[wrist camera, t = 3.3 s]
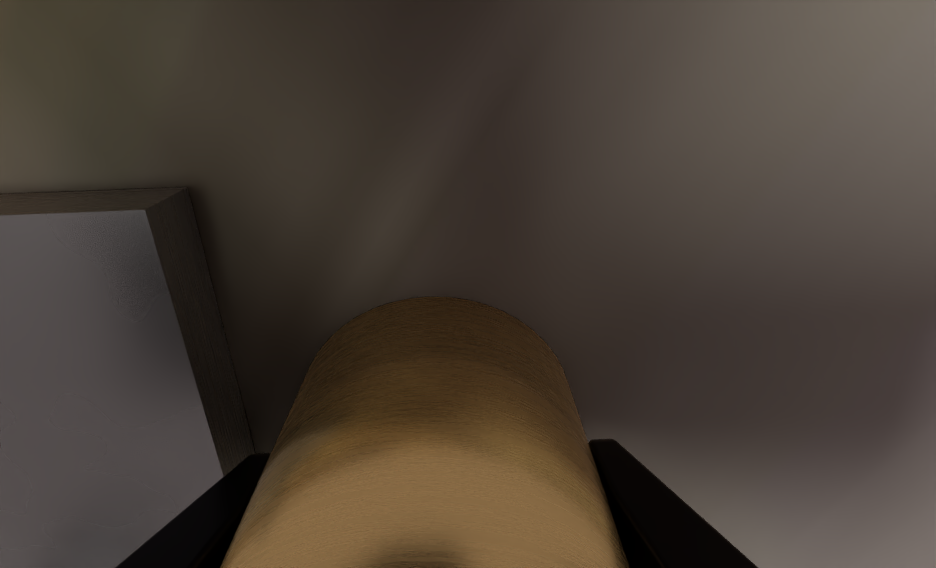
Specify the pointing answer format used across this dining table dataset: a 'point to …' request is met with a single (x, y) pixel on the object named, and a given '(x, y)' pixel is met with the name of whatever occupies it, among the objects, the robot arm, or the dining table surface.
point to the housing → (430, 453)
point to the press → (107, 374)
